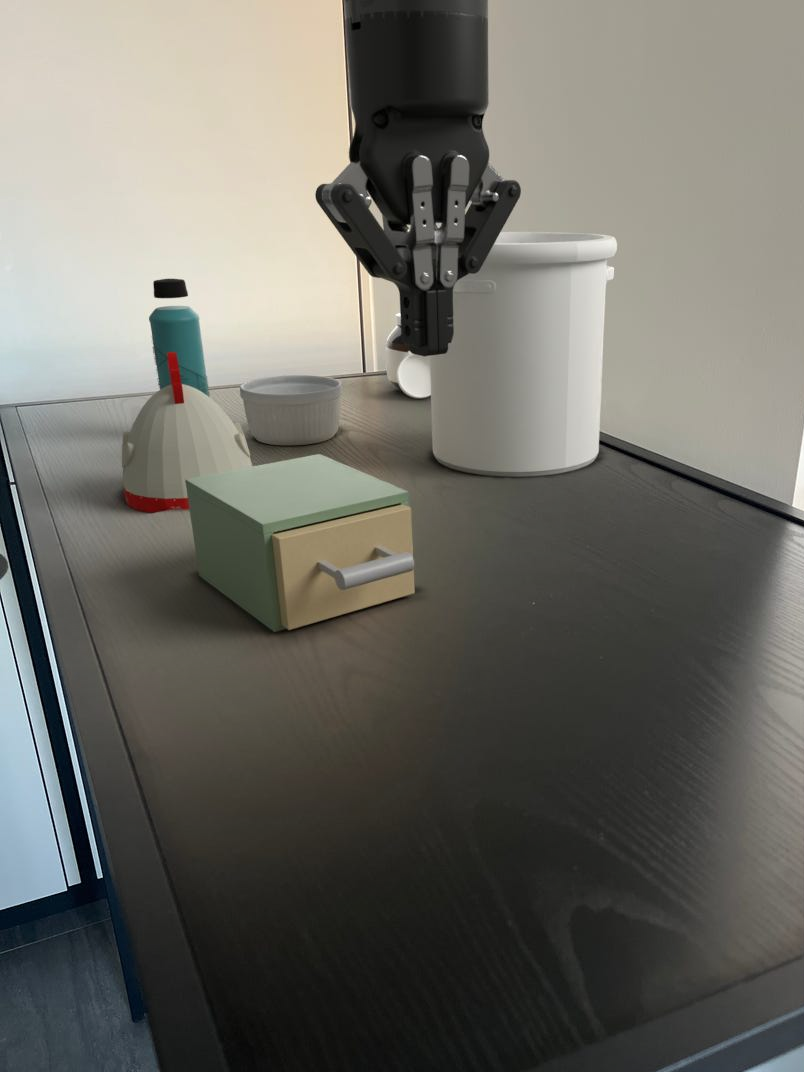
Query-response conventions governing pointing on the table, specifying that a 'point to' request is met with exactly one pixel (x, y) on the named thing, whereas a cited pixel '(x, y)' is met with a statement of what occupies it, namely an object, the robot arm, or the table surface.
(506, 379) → the bucket
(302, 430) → the ramekin
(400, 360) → the spread jar
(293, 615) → the drawer
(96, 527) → the table surface
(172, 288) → the beverage bottle
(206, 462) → the kitchen timer
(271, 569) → the cabinet
